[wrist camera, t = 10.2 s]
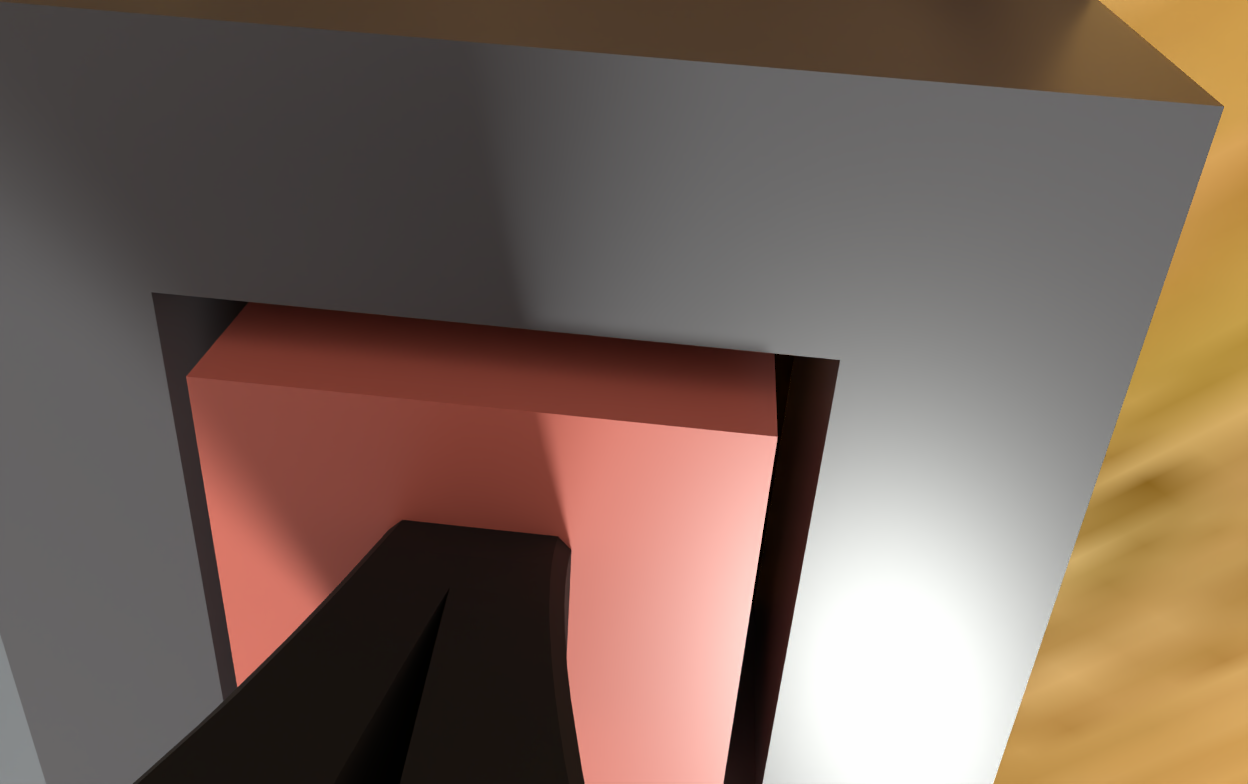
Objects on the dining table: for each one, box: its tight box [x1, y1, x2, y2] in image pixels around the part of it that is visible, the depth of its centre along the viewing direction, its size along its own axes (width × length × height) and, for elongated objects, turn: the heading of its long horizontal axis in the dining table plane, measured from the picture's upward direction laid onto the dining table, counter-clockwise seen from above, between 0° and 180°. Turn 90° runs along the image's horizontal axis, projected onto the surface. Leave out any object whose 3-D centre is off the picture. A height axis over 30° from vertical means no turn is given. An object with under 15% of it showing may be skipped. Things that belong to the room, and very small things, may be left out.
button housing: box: [0, 0, 1224, 784], centre depth 11 cm, size 9×9×3 cm
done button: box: [186, 302, 778, 784], centre depth 10 cm, size 4×4×2 cm
